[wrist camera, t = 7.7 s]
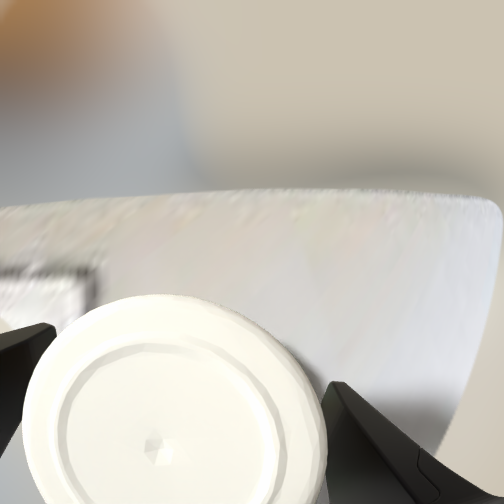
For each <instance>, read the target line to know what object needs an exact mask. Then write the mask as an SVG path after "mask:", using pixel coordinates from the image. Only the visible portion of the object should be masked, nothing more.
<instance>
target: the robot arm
mask: <svg viewBox="0 0 504 504" xmlns="http://www.w3.org/2000/svg"><path fill="white" fill-rule="evenodd" d="M56 337H57V334H56V329H55V327H54V326H53V325H50V324H47V323H39V324H35V325H32V326H28V327H24V328H21V329H17V330H13V331H9V332H6V333H2V334H0V458H1V456H2V454H3V452H4V451H5V449H6V447H7V445H8V443H9V442H10V440H11V438H12V436H13V434H14V433H15V431H16V429H17V427H18V426H19V424H20V422H21V421H22V416H23V407H24V401H25V396H26V392H27V389H28V385H29V382H30V380H31V377H32V375H33V372H34V370H35V368H36V366H37V364H38V362H39V360H40V359H41V357H42V355H43V354H44V352H45V351H46V350H47V348H48V347H49V346H50V345H51V343H52V342H53V341H54V339H55V338H56ZM321 409H322V412H323V416H324V420H325V425H326V431H327V448H328V455H327V466H326V470H325V474H326V480H327V486H328V493H329V500H330V504H504V497H498V496H494V495H491V494H488V493H486V492H485V491H483V490H481V489H480V488H478V487H477V486H475V485H473V484H472V483H470V482H469V481H467V480H465V479H464V478H462V477H461V476H459V475H458V474H456V473H455V472H453V471H452V470H450V469H449V468H447V467H446V466H444V465H443V464H442V463H440V462H439V461H437V460H436V459H435V458H434V457H433V456H431V455H430V454H429V453H428V452H426V451H425V450H424V449H423V448H420V446H419V445H418V444H417V443H415V442H414V441H413V440H412V439H410V438H409V437H408V436H407V435H406V434H404V433H403V432H402V431H401V430H400V429H399V428H397V427H396V426H395V425H394V424H393V423H391V422H390V421H389V420H388V419H387V418H385V417H384V416H383V415H382V414H381V413H380V412H378V411H377V410H376V409H375V408H374V407H373V406H371V405H370V404H369V403H368V402H367V401H366V400H364V399H363V398H362V397H361V396H360V395H359V394H358V393H356V392H355V391H354V390H353V389H352V388H351V387H349V386H348V385H347V384H346V383H345V382H338V381H332V382H330V383H329V385H328V387H327V390H326V392H325V395H324V397H323V400H322V403H321Z"/></svg>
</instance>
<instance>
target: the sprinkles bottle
mask: <svg viewBox="0 0 504 504" xmlns="http://www.w3.org/2000/svg"><path fill="white" fill-rule="evenodd" d="M22 429H23V442H24V448H25V453H26V457H27V461H28V465H29V468H30V471H31V474H32V476H33V478H34V481H35V483H36V485H37V487H38V490H39V492H40V493H41V495H42V497H43V499H44V500H45V502H46V504H315V503H316V501H317V498H318V496H319V493H320V490H321V487H322V484H323V480H324V477H325V470H326V466H327V455H328V448H327V431H326V425H325V420H324V416H323V412H322V409H321V406H320V403H319V401H318V398H317V395H316V393H315V391H314V389H313V387H312V385H311V383H310V381H309V379H308V377H307V376H306V374H305V373H304V371H303V369H302V368H301V366H300V365H299V363H298V362H297V361H296V359H295V358H294V357H293V356H292V354H291V353H290V352H289V351H288V350H287V349H286V348H285V347H284V346H283V345H282V344H281V343H280V342H279V341H278V340H277V339H275V338H274V337H273V336H272V335H271V334H270V333H269V332H267V331H266V330H265V329H263V328H262V327H260V326H259V325H258V324H256V323H255V322H253V321H252V320H250V319H248V318H246V317H245V316H243V315H241V314H239V313H238V312H235V311H233V310H231V309H228V308H226V307H224V306H221V305H218V304H216V303H213V302H210V301H206V300H202V299H199V298H195V297H191V296H179V295H167V294H155V295H143V296H134V297H129V298H125V299H121V300H118V301H114V302H111V303H109V304H106V305H103V306H101V307H98V308H96V309H94V310H92V311H90V312H88V313H87V314H85V315H84V316H82V317H80V318H78V319H77V320H76V321H74V322H73V323H72V324H70V325H69V326H68V327H67V328H66V329H65V330H64V331H63V332H62V333H61V334H60V335H59V336H58V337H56V338H55V339H54V341H53V342H52V343H51V345H50V346H49V347H48V348H47V350H46V351H45V352H44V354H43V355H42V357H41V359H40V360H39V362H38V364H37V366H36V368H35V370H34V372H33V375H32V377H31V380H30V382H29V385H28V389H27V392H26V396H25V401H24V407H23V416H22Z"/></svg>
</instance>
